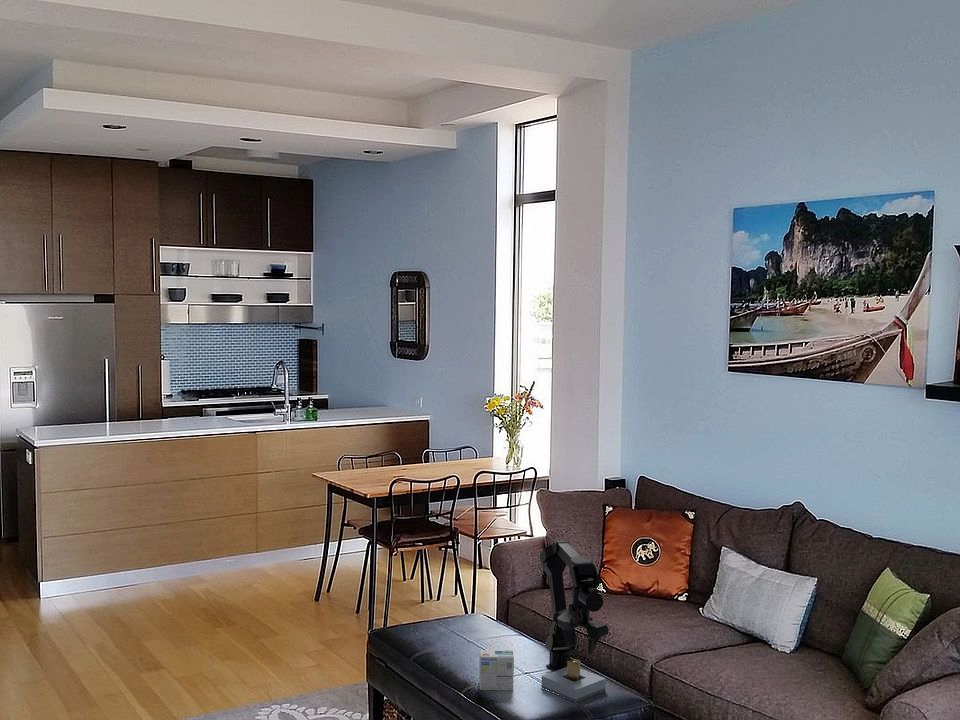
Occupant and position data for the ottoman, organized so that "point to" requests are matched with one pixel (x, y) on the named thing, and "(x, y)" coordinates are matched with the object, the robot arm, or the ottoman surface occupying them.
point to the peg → (573, 670)
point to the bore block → (573, 684)
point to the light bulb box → (496, 670)
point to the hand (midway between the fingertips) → (579, 649)
